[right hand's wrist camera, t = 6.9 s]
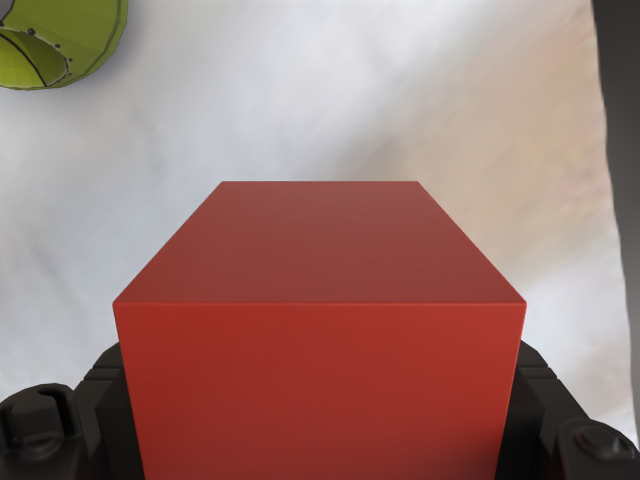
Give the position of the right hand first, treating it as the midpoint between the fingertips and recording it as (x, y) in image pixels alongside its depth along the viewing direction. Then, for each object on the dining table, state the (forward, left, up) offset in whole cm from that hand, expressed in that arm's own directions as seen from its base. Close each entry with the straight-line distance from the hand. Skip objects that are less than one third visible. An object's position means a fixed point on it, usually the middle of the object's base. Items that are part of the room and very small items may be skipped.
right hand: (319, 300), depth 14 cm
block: (0, 0, -2) cm, 2 cm away
